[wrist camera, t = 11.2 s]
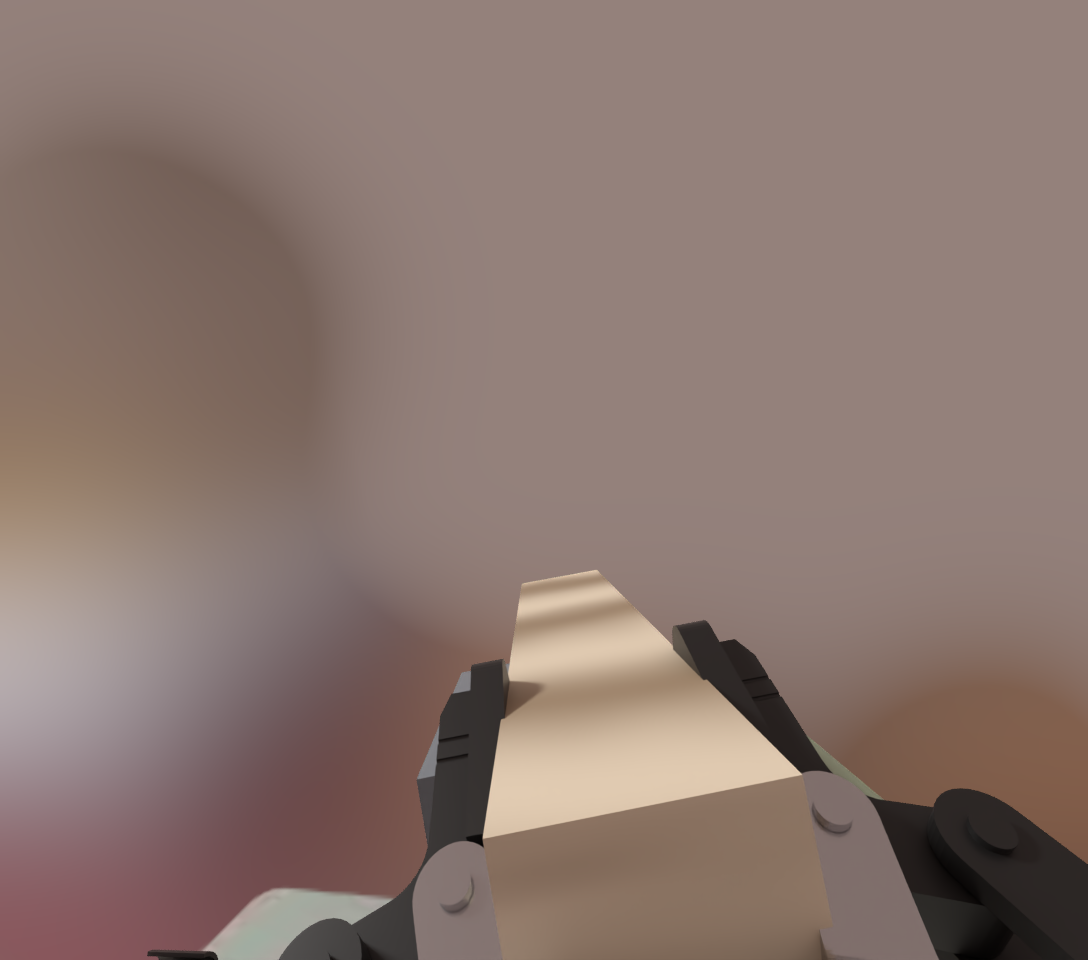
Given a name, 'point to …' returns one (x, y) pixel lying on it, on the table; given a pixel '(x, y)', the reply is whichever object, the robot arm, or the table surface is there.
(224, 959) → the table surface
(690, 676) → the birch slat
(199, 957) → the phone stand
